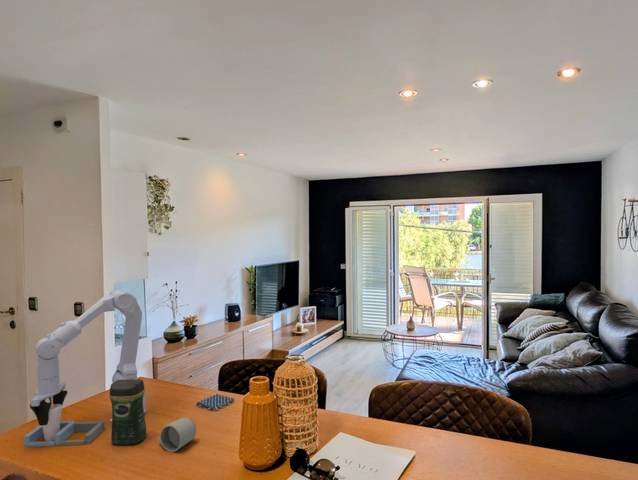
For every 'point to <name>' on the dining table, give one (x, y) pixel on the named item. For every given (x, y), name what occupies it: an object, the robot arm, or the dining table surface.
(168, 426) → the grey hollow cylinder
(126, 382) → the coffee jar
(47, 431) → the smoothie
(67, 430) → the frame
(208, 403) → the woven mat
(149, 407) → the dining table surface
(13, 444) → the dining table surface
